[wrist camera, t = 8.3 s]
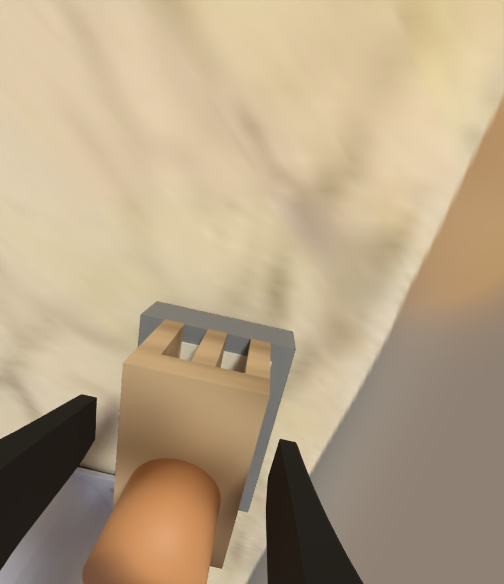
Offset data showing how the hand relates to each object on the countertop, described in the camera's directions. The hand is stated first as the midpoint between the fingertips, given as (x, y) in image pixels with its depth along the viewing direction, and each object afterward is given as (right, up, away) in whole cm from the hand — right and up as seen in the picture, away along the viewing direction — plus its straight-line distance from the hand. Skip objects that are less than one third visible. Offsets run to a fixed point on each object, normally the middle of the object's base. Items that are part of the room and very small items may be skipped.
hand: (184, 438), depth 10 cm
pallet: (0, -1, +5) cm, 5 cm away
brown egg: (-1, -3, +1) cm, 3 cm away
